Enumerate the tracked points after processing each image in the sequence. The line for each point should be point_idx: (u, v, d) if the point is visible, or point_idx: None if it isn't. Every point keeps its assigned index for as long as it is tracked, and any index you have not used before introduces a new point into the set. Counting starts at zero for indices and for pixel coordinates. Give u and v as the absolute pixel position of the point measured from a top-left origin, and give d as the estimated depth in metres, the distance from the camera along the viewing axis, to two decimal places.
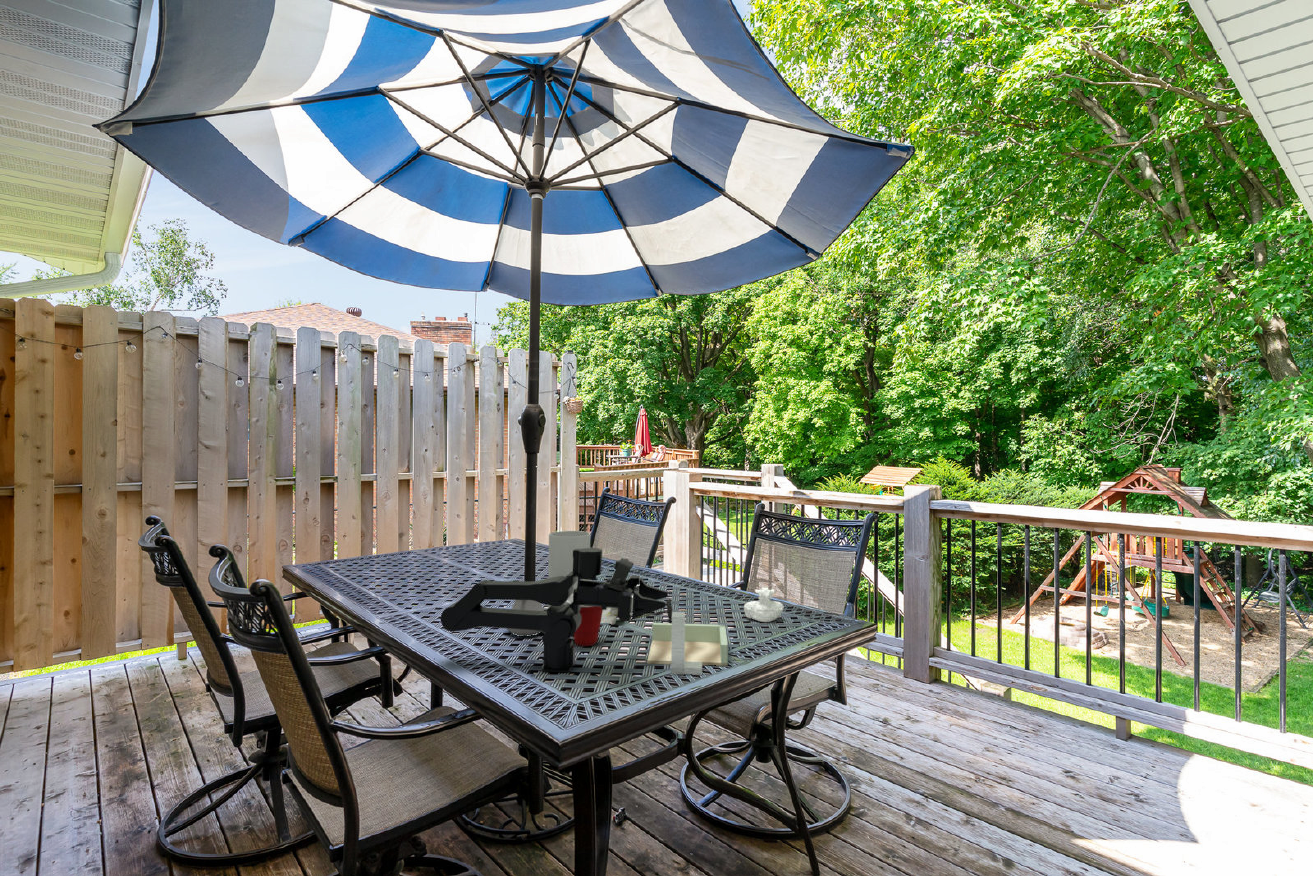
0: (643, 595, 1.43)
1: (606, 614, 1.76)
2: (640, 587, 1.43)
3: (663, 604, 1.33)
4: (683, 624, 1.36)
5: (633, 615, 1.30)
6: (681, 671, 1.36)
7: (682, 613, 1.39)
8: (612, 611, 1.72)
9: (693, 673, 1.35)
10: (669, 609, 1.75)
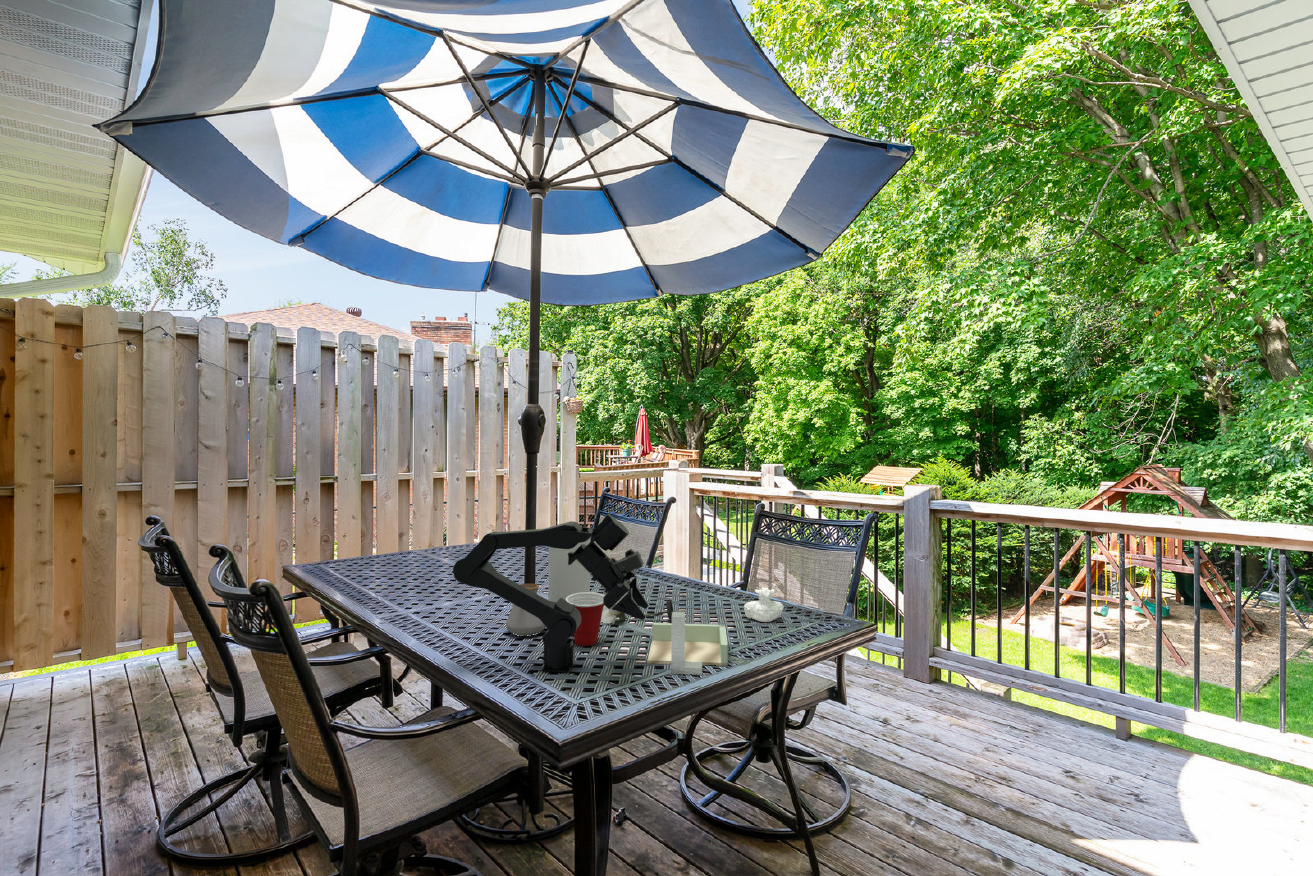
0: (628, 591, 1.44)
1: (606, 614, 1.76)
2: (631, 584, 1.44)
3: (643, 617, 1.34)
4: (683, 624, 1.36)
5: (615, 607, 1.31)
6: (681, 671, 1.36)
7: (682, 613, 1.39)
8: (611, 611, 1.72)
9: (693, 673, 1.35)
10: (669, 610, 1.74)
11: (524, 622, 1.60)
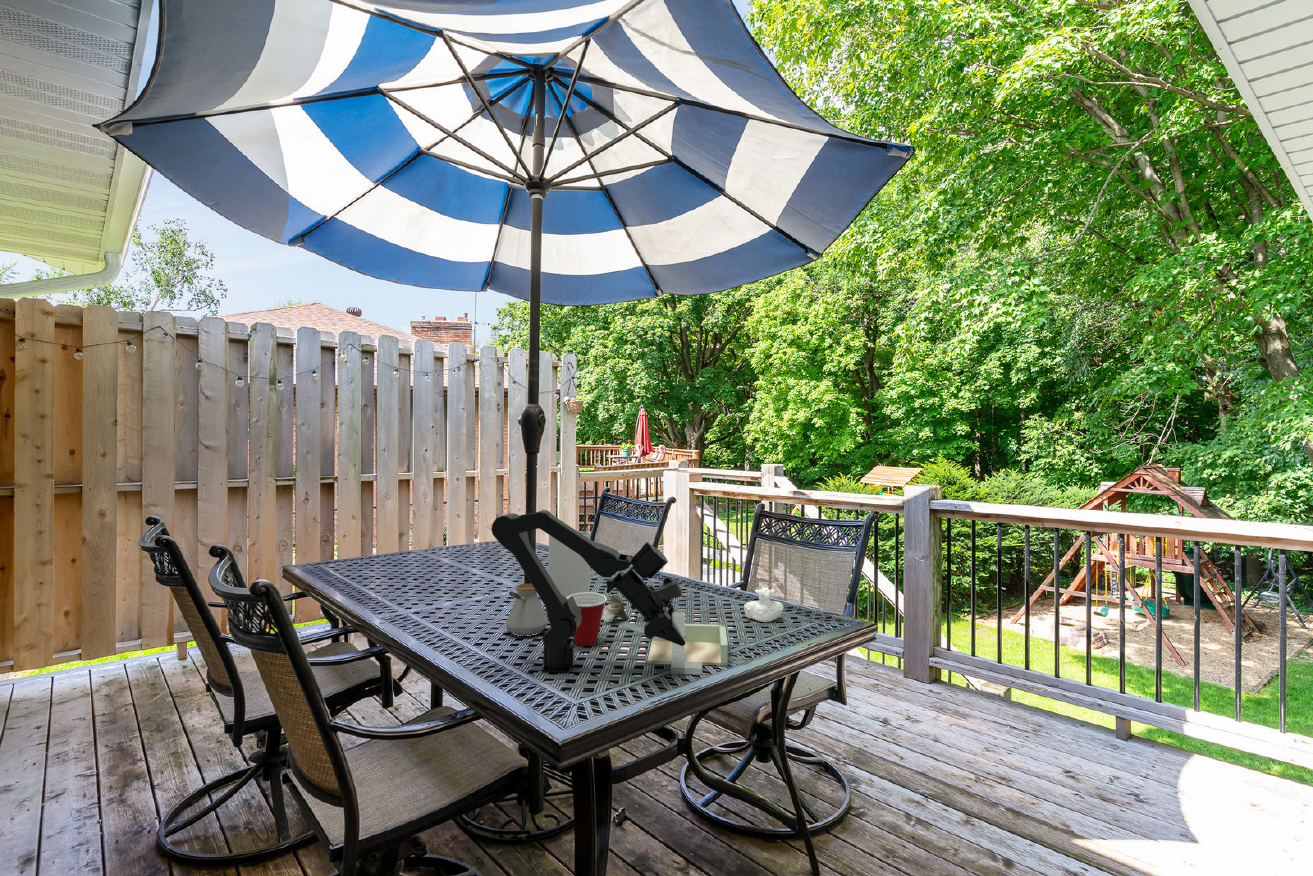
0: None
1: (607, 612, 1.78)
2: (667, 614, 1.41)
3: (683, 643, 1.35)
4: (683, 624, 1.36)
5: (656, 634, 1.33)
6: (681, 671, 1.36)
7: (682, 613, 1.39)
8: (607, 609, 1.74)
9: (693, 673, 1.35)
10: None
11: (524, 622, 1.60)
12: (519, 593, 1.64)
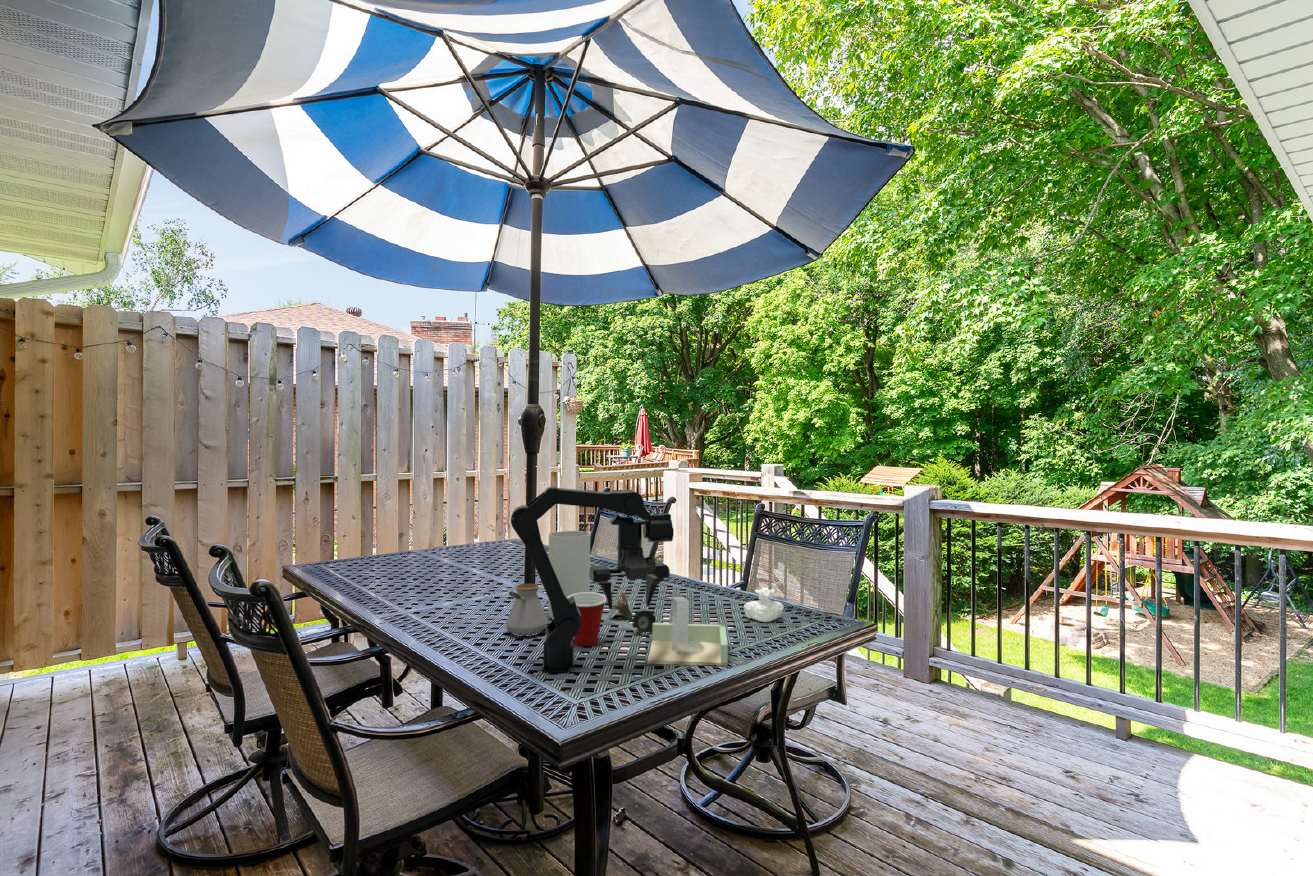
0: (648, 581, 1.46)
1: None
2: (651, 579, 1.44)
3: (609, 607, 1.42)
4: (687, 607, 1.47)
5: None
6: (685, 650, 1.47)
7: (682, 597, 1.50)
8: None
9: (696, 651, 1.48)
10: (633, 619, 1.65)
11: (524, 622, 1.60)
12: (519, 593, 1.64)
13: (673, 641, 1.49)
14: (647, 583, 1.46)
